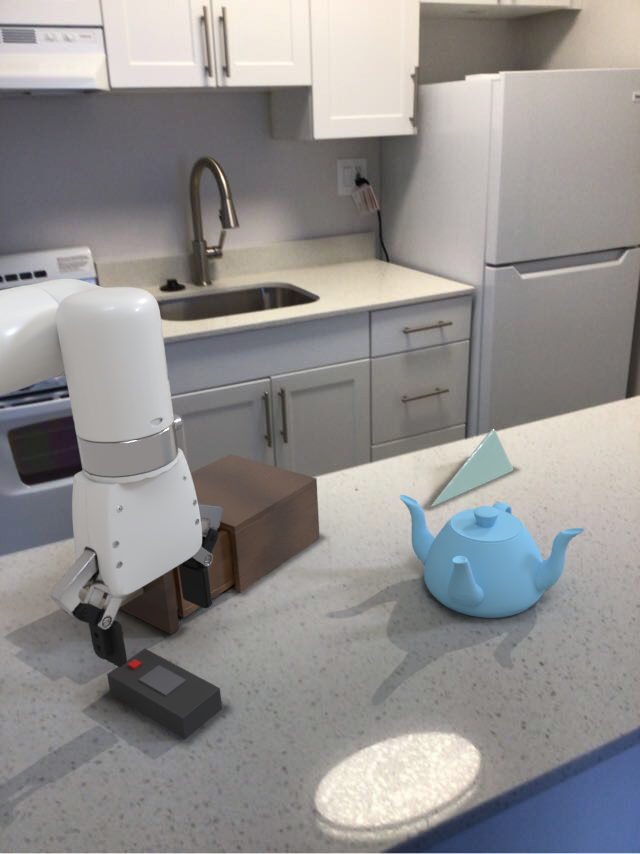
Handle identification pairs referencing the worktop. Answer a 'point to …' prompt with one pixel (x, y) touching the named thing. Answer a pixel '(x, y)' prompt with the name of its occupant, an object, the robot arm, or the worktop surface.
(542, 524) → the worktop surface
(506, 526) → the teapot
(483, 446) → the pale green wedge
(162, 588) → the drawer
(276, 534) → the cabinet
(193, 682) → the remote
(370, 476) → the worktop surface
